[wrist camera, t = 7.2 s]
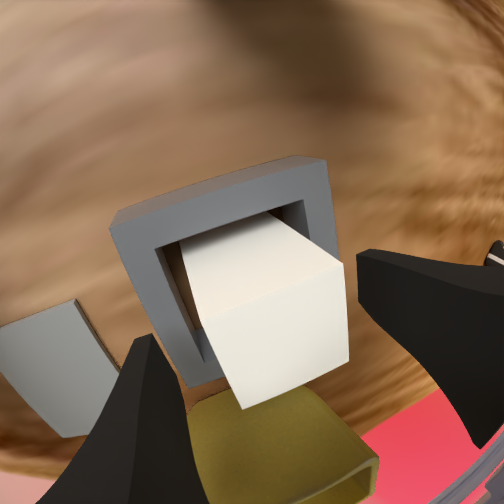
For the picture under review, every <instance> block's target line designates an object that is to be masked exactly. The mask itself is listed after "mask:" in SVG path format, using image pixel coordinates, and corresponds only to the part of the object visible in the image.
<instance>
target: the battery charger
mask: <svg viewBox="0 0 504 504" xmlns="http://www.w3.org/2000/svg"><path fill="white" fill-rule="evenodd" d="M486 266H504V244H503V242H502V241H500V240H498V241H496V242H495V244H494V245H493V247H492V249H491V251H490V253H488V256H487V259H486Z"/></svg>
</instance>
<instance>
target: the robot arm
mask: <svg viewBox="0 0 504 504" xmlns="http://www.w3.org/2000/svg"><path fill="white" fill-rule="evenodd" d="M356 261H357V279H358V302H359V303H360V304H361V305H362V307H363V308H364V309H365V310H366V312H367V313H368V314H369V315H370V316H371V318H372V319H373V320H374V321H375V322H376V323H377V324H378V325H379V326H380V327H381V328H383V329H384V330H385V331H386V332H387V333H388V334H389V335H390V336H391V337H392V338H394V339H395V340H396V341H397V342H398V343H399V344H400V345H401V346H402V347H404V348H405V349H406V350H407V351H408V352H409V353H410V354H411V355H412V356H413V357H414V358H415V359H416V360H417V361H418V362H419V363H420V364H421V365H422V366H423V367H424V368H425V370H426V371H427V372H428V373H429V374H430V376H431V377H432V378H433V379H434V381H435V382H436V383H437V384H438V386H439V387H440V389H441V390H442V391H443V392H444V394H445V395H446V397H447V398H448V399H449V401H450V403H451V404H452V406H453V407H454V409H455V410H456V412H457V413H458V415H459V417H460V418H461V420H462V422H463V424H464V426H465V428H466V429H467V431H468V433H469V435H470V437H471V439H472V442H473V443H474V444H475V445H476V446H477V447H478V448H479V449H481V448H482V447H483V446H484V445H485V444H486V443H487V442H488V441H489V440H490V439H491V438H492V437H493V435H494V434H495V433H496V432H497V431H498V430H499V429H500V427H501V426H502V425H503V424H504V266H475V265H463V264H455V263H449V262H442V261H436V260H431V259H426V258H420V257H415V256H410V255H405V254H400V253H395V252H390V251H384V250H377V249H368V250H366V251H363V252H361V253H359V254H356ZM503 458H504V431H503V433H502V434H501V435H500V436H499V437H498V438H497V439H496V441H495V442H494V443H493V444H492V445H491V446H490V447H489V449H487V451H486V452H485V453H484V454H483V455H482V456H481V457H480V458H479V459H478V460H477V461H476V462H475V463H474V464H473V465H472V466H471V467H470V468H469V469H468V470H467V471H466V472H465V473H464V474H463V475H461V476H460V477H459V478H458V479H457V480H456V481H455V482H453V483H452V484H451V485H450V486H449V487H448V488H446V489H445V490H444V491H443V492H442V493H440V494H439V495H438V496H437V497H436V498H435V499H433V500H432V501H430V502H429V503H428V504H459V503H461V502H462V501H463V500H464V499H465V498H466V497H467V496H468V495H469V494H470V493H471V492H472V491H473V490H475V489H476V487H478V486H479V485H480V484H481V483H482V481H483V480H484V479H485V478H486V477H487V476H488V475H489V474H490V473H491V472H492V471H493V470H494V469H495V468H496V466H498V464H499V463H500V462H501V461H502V460H503ZM485 488H486V489H487V490H488V491H487V492H486V494H484V495H483V496H482V497H481V498H480V499H479V500H478V501H477V502H476V503H475V504H504V463H503V464H502V465H501V466H500V467H499V468H498V469H497V470H496V471H495V472H494V474H493V475H492V476H491V477H490V479H489V480H488V481H487V483H486V484H485ZM35 504H210V503H209V501H208V499H207V496H206V493H205V491H204V488H203V485H202V482H201V480H200V477H199V474H198V471H197V467H196V463H195V459H194V454H193V449H192V444H191V439H190V433H189V428H188V422H187V416H186V410H185V404H184V400H183V396H182V393H181V389H180V386H179V382H178V378H177V375H176V374H175V372H174V371H173V369H172V367H171V366H170V364H169V362H168V360H167V359H166V357H165V355H164V354H163V352H162V350H161V348H160V347H159V345H158V343H157V341H156V339H155V338H154V336H153V334H152V333H151V334H148V335H145V336H142V337H139V338H136V339H134V342H133V344H132V346H131V348H130V350H129V353H128V355H127V357H126V359H125V362H124V364H123V366H122V369H121V371H120V373H119V376H118V378H117V380H116V382H115V385H114V387H113V389H112V391H111V393H110V395H109V397H108V399H107V401H106V403H105V406H104V408H103V410H102V412H101V414H100V416H99V418H98V419H97V421H96V423H95V425H94V427H93V428H92V430H91V432H90V433H89V435H88V437H87V438H86V440H85V442H84V443H83V445H82V446H81V448H80V449H79V451H78V452H77V454H76V455H75V456H74V458H73V459H72V461H71V462H70V464H69V465H68V466H67V468H66V469H65V471H64V472H63V473H62V474H61V476H60V477H59V478H58V479H57V481H56V482H55V483H54V484H53V485H52V486H51V488H50V489H49V490H48V491H47V492H46V493H45V495H43V496H42V498H41V499H40V500H39V501H38V502H36V503H35Z"/></svg>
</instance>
